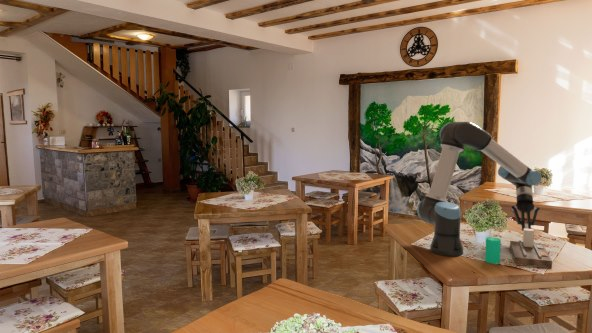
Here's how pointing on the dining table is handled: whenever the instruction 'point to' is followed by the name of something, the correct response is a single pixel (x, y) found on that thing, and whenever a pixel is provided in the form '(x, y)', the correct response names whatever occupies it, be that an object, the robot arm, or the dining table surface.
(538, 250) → the switch board
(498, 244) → the candle
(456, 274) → the dining table surface
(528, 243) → the switch tab
